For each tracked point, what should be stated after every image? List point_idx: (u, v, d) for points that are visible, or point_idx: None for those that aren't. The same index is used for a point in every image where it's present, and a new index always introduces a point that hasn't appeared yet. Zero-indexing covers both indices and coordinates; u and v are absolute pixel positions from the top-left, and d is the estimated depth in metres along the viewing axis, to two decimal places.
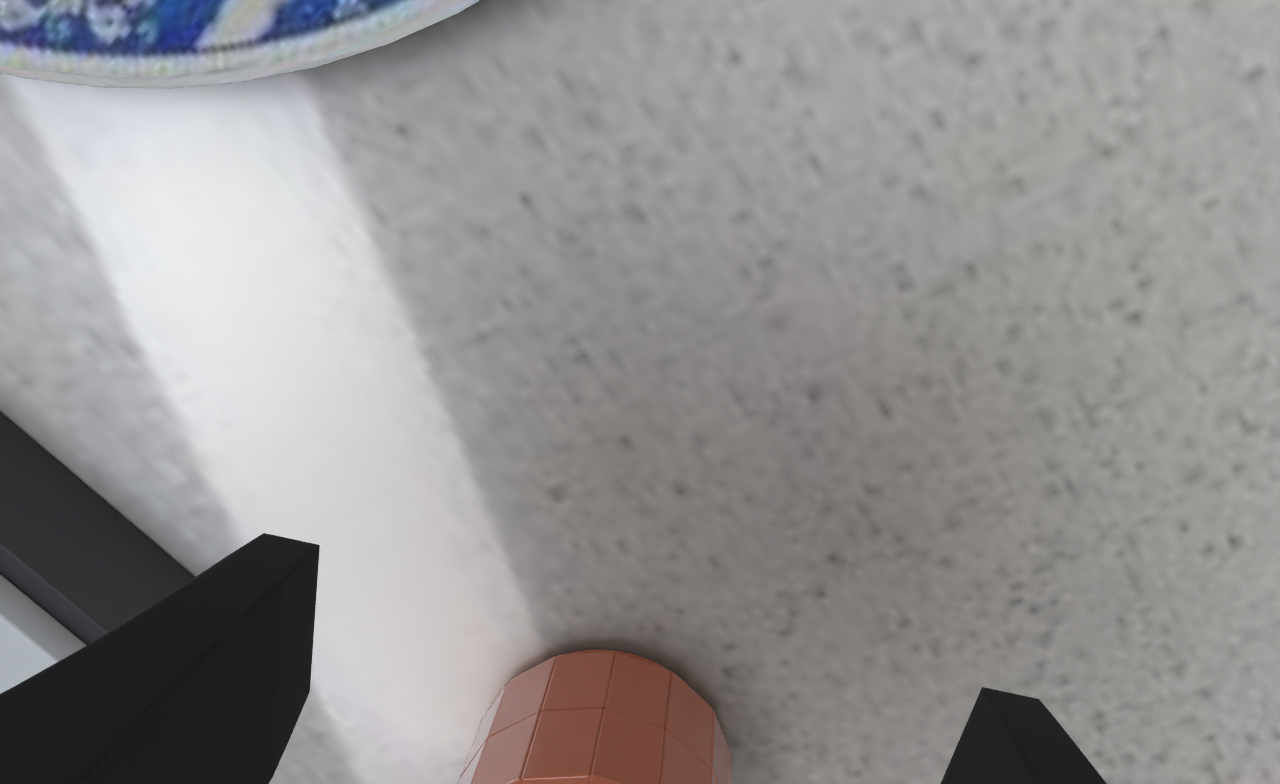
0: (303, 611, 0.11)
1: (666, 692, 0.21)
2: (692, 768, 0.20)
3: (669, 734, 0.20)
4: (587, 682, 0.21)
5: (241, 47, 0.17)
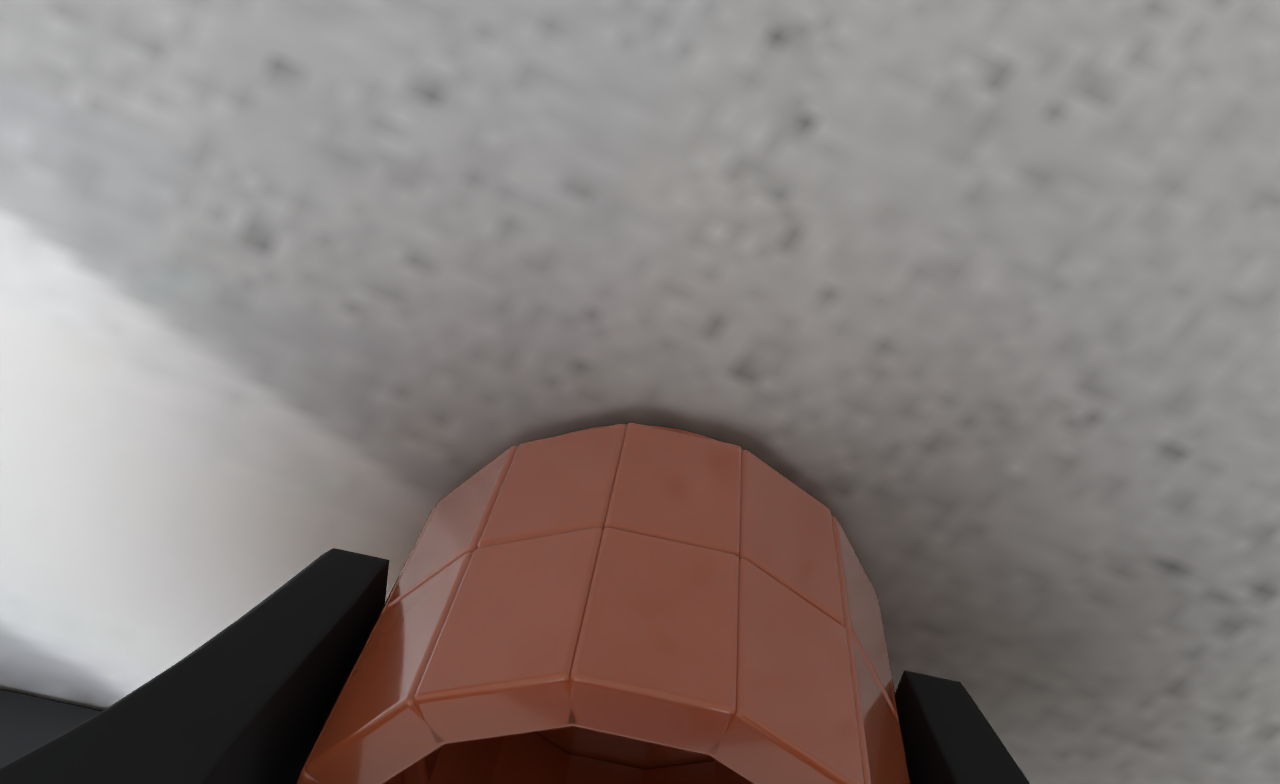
0: (373, 626, 0.11)
1: (613, 461, 0.11)
2: (682, 572, 0.09)
3: (619, 531, 0.09)
4: (461, 520, 0.11)
5: None
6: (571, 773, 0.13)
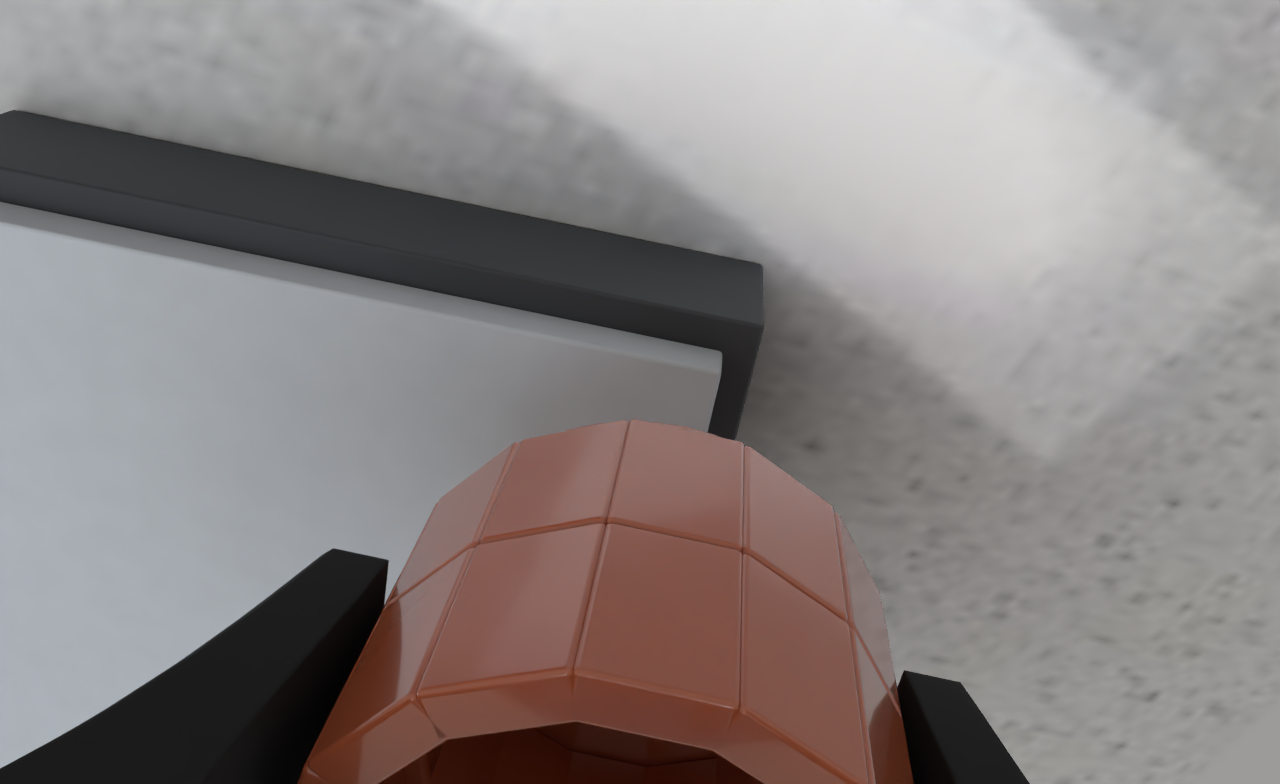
0: (373, 626, 0.11)
1: (615, 457, 0.10)
2: (685, 567, 0.09)
3: (622, 527, 0.09)
4: (463, 516, 0.11)
5: None
6: (573, 770, 0.13)
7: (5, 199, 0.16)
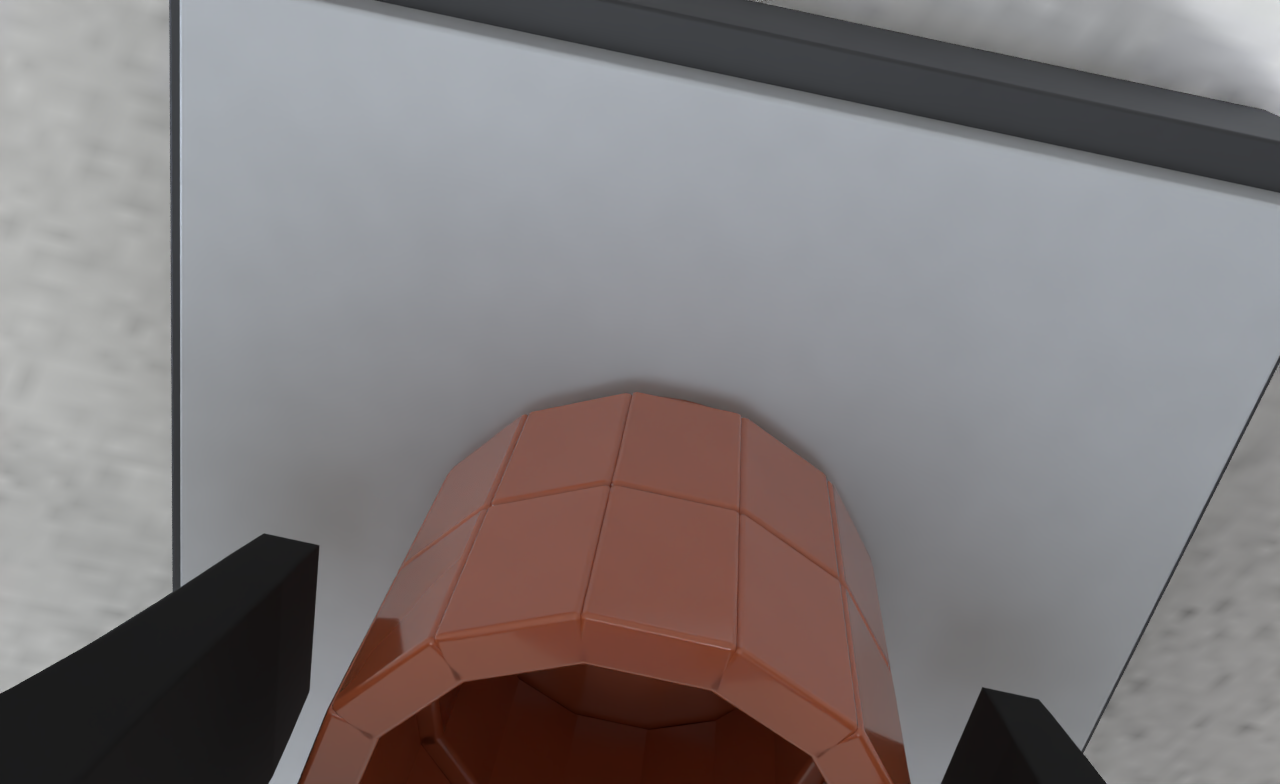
0: (303, 611, 0.11)
1: (619, 426, 0.11)
2: (685, 525, 0.10)
3: (625, 488, 0.10)
4: (474, 482, 0.11)
5: None
6: (578, 732, 0.14)
7: None
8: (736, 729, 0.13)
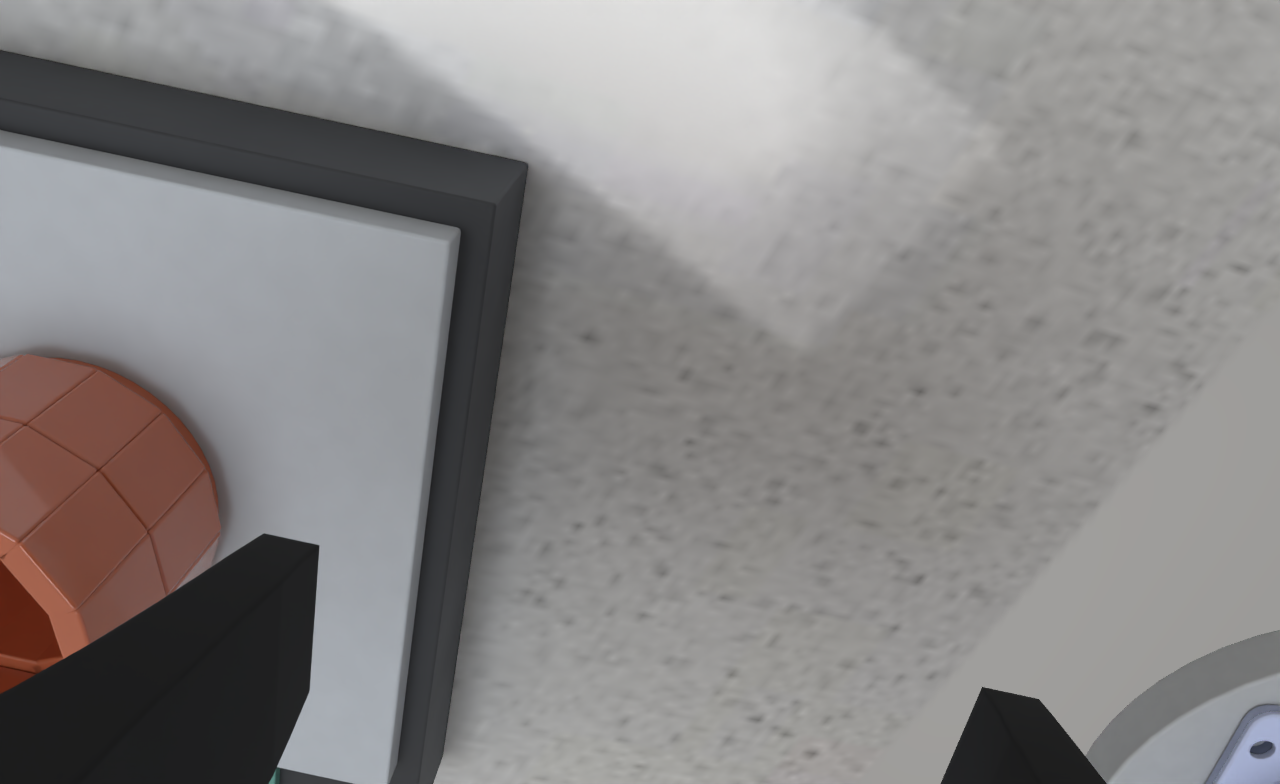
0: (303, 611, 0.11)
1: None
2: None
3: None
4: None
5: None
6: None
7: None
8: None
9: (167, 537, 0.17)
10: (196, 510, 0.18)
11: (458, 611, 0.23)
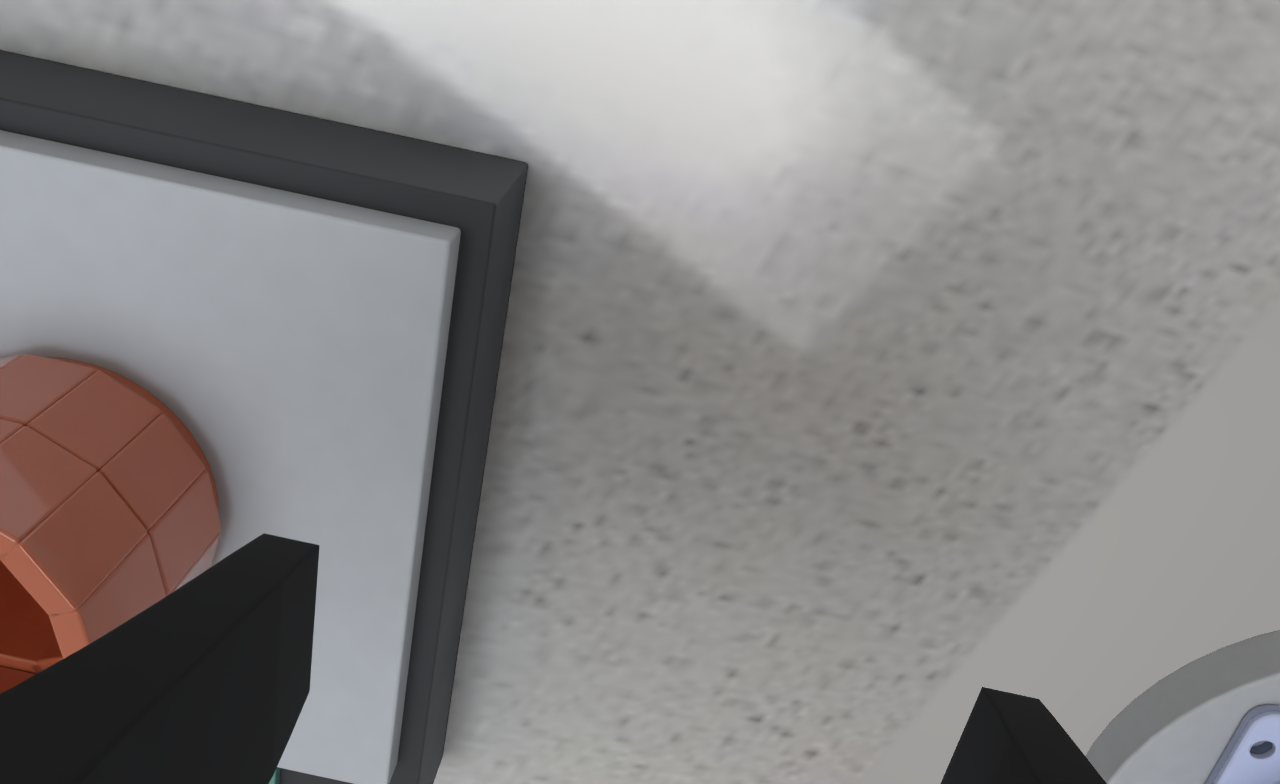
0: (303, 611, 0.11)
1: None
2: None
3: None
4: None
5: None
6: None
7: None
8: None
9: (167, 537, 0.17)
10: (196, 510, 0.18)
11: (458, 611, 0.23)
